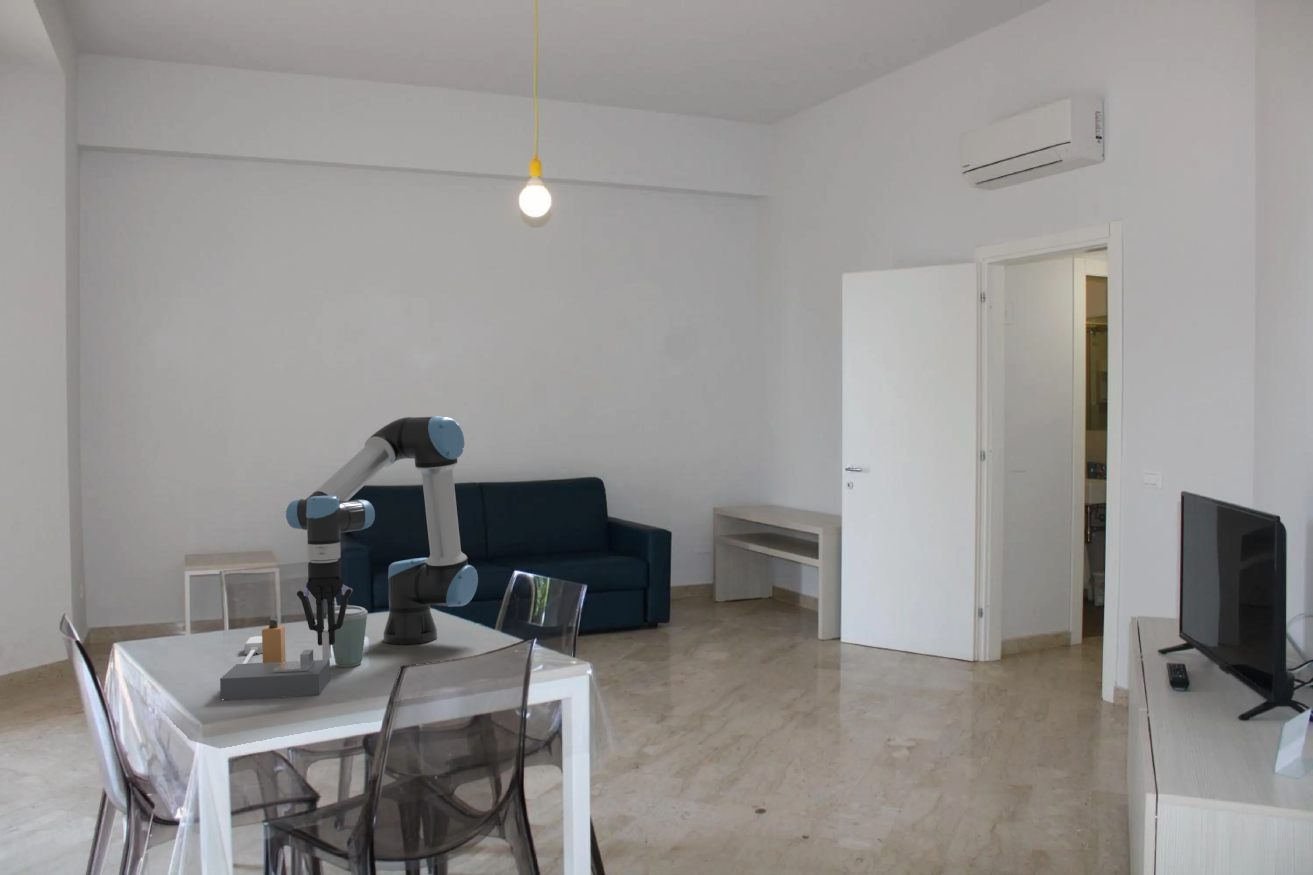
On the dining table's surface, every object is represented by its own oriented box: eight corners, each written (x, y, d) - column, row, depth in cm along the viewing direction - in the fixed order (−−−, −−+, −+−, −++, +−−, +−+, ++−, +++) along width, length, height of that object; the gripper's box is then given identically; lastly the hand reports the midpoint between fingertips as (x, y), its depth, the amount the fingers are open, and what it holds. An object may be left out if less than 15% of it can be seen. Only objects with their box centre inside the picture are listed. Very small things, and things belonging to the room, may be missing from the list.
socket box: (330, 679, 255) (329, 659, 255) (319, 694, 241) (318, 673, 241) (237, 684, 252) (236, 663, 252) (220, 700, 238) (220, 678, 238)
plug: (285, 672, 263) (284, 617, 263) (281, 676, 259) (280, 620, 259) (267, 672, 263) (266, 618, 263) (263, 677, 258) (261, 621, 258)
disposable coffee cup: (375, 659, 275) (373, 603, 275) (361, 669, 264) (359, 611, 264) (336, 659, 276) (334, 603, 275) (320, 669, 265) (319, 611, 265)
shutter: (314, 662, 251) (314, 647, 251) (308, 670, 244) (307, 655, 243) (280, 664, 250) (280, 649, 250) (272, 672, 242) (272, 657, 242)
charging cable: (229, 678, 263) (228, 665, 263) (251, 645, 295) (251, 633, 294) (250, 676, 264) (249, 663, 264) (270, 643, 296) (270, 632, 295)
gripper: (292, 563, 243) (295, 663, 243) (349, 561, 244) (352, 660, 245) (299, 559, 250) (301, 656, 251) (354, 557, 252) (357, 653, 252)
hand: (326, 658), depth 248 cm, fingers closed
